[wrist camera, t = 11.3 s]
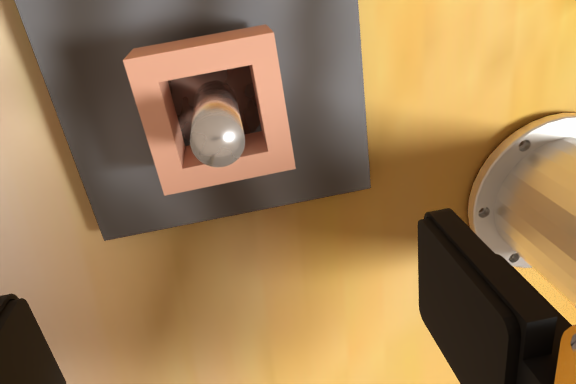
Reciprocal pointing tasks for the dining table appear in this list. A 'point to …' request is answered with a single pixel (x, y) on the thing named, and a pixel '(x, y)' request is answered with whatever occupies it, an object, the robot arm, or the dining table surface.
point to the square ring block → (199, 60)
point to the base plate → (136, 152)
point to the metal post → (216, 113)
